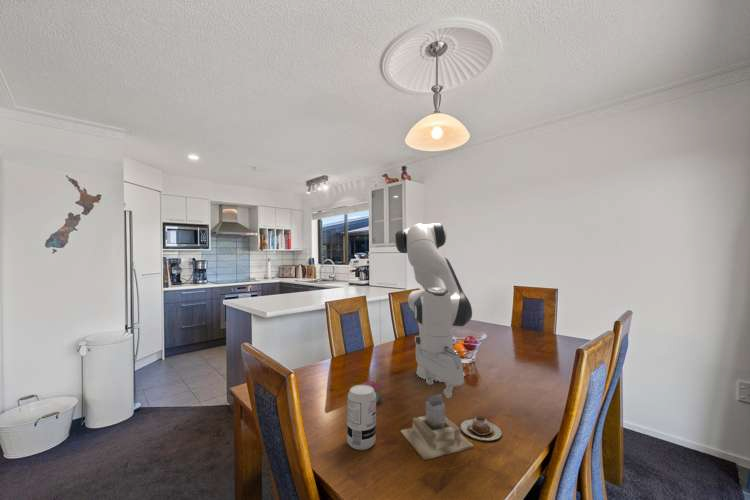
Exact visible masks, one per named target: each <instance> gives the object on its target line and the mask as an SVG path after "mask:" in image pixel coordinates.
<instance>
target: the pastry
mask: <svg viewBox="0 0 750 500" xmlns="http://www.w3.org/2000/svg"><path fill="white" fill-rule="evenodd" d="M468 428H469V430H471V431H472V432H473V433H474V434H476V435H478V436H475V435H473V434H471V433H470V432H469V431H468ZM460 431H462V433H463V434H465V435H466V436H468V437H471V439H473V440H477V441H481V442H490V441H496V440H498V439H499V438H501V437H502V430H501V429H500V427H499V426H497V425H496V424H495V423H492V422H489V421H488V420H487V419H486V417H485V416H484V415H481V414H479V415H476V416H475V418H474V419H471V418H470V419H466V420H464V421H463V422H461V423H460ZM492 432H493V436H491V437H487V438H486V437H479V436H487V435H489V434H491V433H492Z"/></svg>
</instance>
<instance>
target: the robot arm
mask: <svg viewBox="0 0 750 500" xmlns="http://www.w3.org/2000/svg"><path fill="white" fill-rule="evenodd" d="M443 225H444V224H442V223H441V222H433V223H426V224H423V223H416V224H413V225H412V226H410V227H408V228H407V227H406V228H402V229H401V228H400V229H399V230H397V231H396V233H395V234H394V239H393V240H394V241H393V242H394V246H395V248H396V250H397V251H398V252H400V254H407V258H408V262H409V264H410V265H411V266H412V269H413V272H414V278H415V281H416V283H418V284H419V286H421V287H422V288H423V289H417V290H412V291H411V292H410V293H409V294H408V297H407V303H408V304H407V305H408V307H409V308H410V310H411V311H413V319H414V320H415V321H416V322H417V324H418V327H419V328H418V330H419V331H418V332H419V335H415V336H414V343H415V360H416V363H417V367H416V373H415V375H416V374H417V375H418V376H419V377H421V378H420V379H422V378H423V379H422V380H425V379H426V380H425V382H426V384H428V385H433V384H434V382H437V381H439V382H438V383H441V382H443V383H445V386H446V387H445V389H443V396H444V397H445V398H448V399H449V398H451V397H453V395H452V394H453V389H454V388H455V387H459V386H463V384H464V383H465V379H464V378H465V377H464V376H466V374H465V372H464V366H463V362H462V361H463V360H462V359H461V356H460V355H459V354H458V351H457V350H454V341H453V340H454V339H453V337H454V333H453V332H454V331H453V328H452V327H464V326H465V325H467V324H468V323H469V322H470V321H471V319H472V316H473V309H472V308H473V307H472V305H471V302H470V301H469V298H468V297H467V295H466V294H465V292H464V291H463V288H462V285H461V284H460V282H459V279H458V277H457V274H456V272H455V271H454V268H453V266H452V264H451V262H450V260H449V259H448V258H447V257H445V256H444V255H442V254H441V253H440V252H439V250H438V249H439V248H441V247H443V246H444V245H445V244H446V243H447V242H446V240H447V231H446V229H445V226H443ZM417 375H416V376H417ZM418 376H417V377H418ZM419 377H418V378H419ZM433 380H435V381H433Z"/></svg>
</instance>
